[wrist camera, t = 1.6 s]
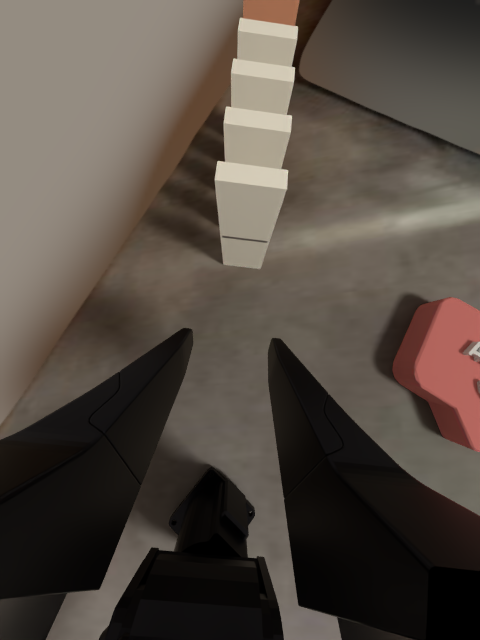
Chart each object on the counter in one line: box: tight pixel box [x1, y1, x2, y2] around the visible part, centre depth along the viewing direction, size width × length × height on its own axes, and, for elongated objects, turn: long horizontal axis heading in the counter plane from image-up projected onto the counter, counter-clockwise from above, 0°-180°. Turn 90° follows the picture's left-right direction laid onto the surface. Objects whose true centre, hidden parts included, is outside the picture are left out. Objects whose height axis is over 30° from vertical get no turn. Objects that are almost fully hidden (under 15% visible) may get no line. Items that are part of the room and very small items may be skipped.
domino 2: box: [224, 107, 292, 169], centre depth 19 cm, size 2×5×12 cm, turn 84°
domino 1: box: [215, 161, 288, 269], centre depth 18 cm, size 2×5×12 cm, turn 84°
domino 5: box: [243, 0, 299, 26], centre depth 22 cm, size 2×5×12 cm, turn 84°
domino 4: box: [237, 18, 298, 67], centre depth 21 cm, size 2×5×12 cm, turn 84°
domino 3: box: [231, 59, 295, 115], centre depth 20 cm, size 2×5×12 cm, turn 84°
